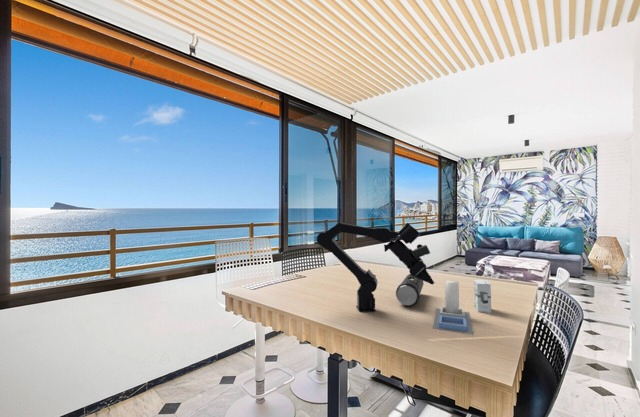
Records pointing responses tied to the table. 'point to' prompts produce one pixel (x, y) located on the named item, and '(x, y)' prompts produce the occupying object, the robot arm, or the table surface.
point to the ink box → (482, 296)
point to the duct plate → (453, 321)
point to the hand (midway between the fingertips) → (432, 281)
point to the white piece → (452, 297)
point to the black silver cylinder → (409, 290)
